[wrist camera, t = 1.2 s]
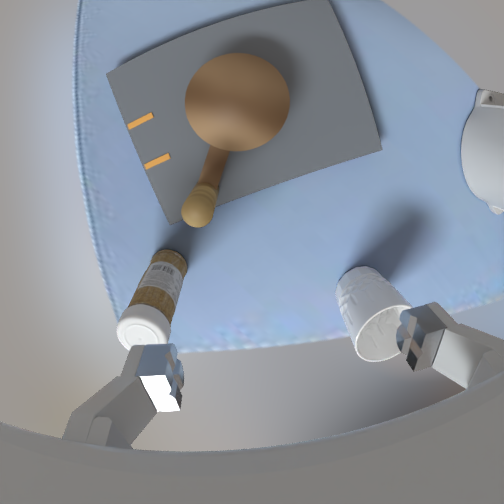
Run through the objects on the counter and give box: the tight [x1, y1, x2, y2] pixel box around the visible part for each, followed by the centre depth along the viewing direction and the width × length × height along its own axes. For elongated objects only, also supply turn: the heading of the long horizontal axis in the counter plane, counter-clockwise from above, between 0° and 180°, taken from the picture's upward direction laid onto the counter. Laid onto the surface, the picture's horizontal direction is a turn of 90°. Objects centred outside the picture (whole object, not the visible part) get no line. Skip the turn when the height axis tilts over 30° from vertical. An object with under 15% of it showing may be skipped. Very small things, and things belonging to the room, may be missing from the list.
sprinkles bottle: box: [117, 250, 187, 351], centre depth 29 cm, size 5×5×14 cm
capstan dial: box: [181, 53, 290, 227], centre depth 23 cm, size 15×9×8 cm, turn 160°
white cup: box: [335, 266, 413, 362], centre depth 33 cm, size 8×8×10 cm
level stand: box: [106, 0, 382, 225], centre depth 27 cm, size 24×18×2 cm
